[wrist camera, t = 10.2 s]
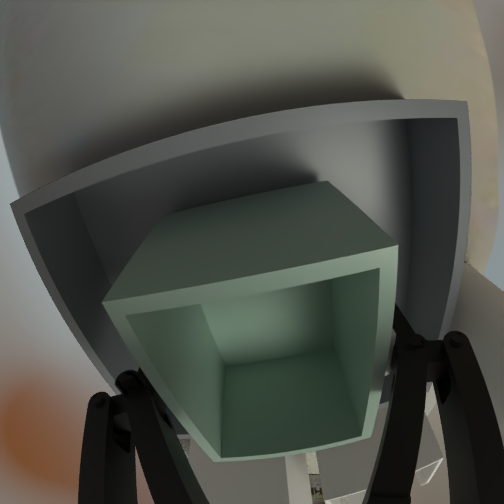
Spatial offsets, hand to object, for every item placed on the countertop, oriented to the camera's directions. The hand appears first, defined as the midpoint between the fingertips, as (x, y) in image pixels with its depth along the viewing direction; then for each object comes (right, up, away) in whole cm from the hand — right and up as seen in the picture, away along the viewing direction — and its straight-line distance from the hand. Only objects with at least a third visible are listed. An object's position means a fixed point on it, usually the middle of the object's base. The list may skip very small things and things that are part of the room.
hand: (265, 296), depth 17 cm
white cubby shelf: (+6, -19, +13) cm, 23 cm away
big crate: (0, +1, +2) cm, 2 cm away
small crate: (0, 0, +1) cm, 1 cm away
